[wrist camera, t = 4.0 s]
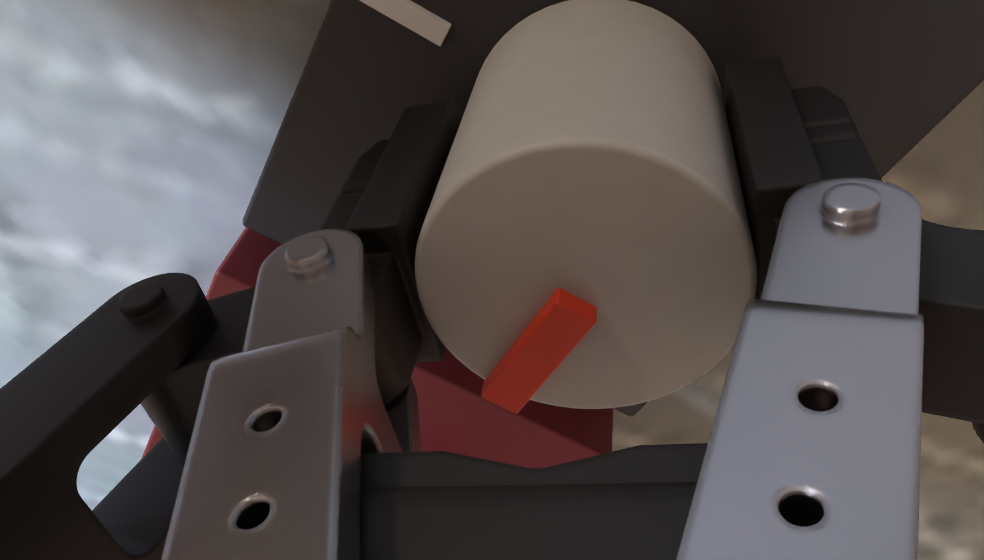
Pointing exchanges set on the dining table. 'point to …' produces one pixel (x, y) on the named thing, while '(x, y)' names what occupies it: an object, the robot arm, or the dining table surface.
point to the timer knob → (589, 214)
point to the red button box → (455, 396)
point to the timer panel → (692, 3)
